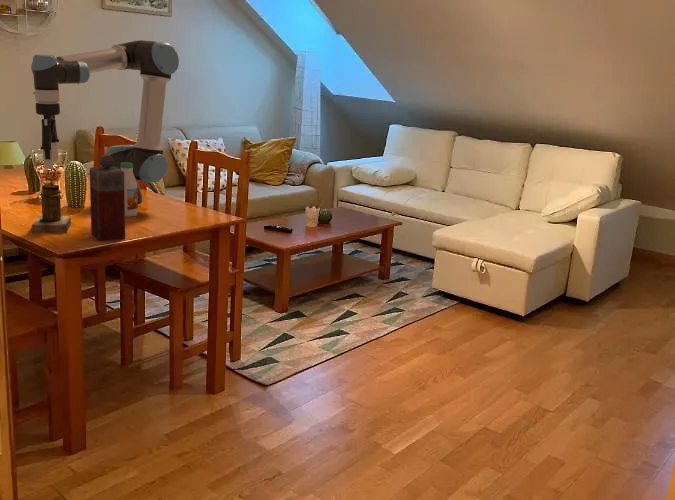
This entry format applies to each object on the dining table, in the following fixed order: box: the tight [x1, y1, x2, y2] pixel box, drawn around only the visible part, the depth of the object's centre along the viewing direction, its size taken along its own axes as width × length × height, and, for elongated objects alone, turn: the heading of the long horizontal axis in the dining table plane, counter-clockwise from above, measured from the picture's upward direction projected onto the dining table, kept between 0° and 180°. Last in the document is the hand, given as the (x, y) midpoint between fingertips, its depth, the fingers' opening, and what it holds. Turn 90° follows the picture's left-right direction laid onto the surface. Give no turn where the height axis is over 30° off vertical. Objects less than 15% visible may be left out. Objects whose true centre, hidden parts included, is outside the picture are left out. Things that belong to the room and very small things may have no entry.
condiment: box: [39, 184, 63, 224], centre depth 238 cm, size 7×8×12 cm
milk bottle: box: [120, 162, 139, 218], centre depth 263 cm, size 8×8×20 cm
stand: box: [31, 215, 72, 234], centre depth 241 cm, size 11×11×3 cm
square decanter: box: [89, 154, 126, 242], centre depth 233 cm, size 9×11×28 cm
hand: (51, 164), depth 240 cm, fingers open, 13 cm apart
